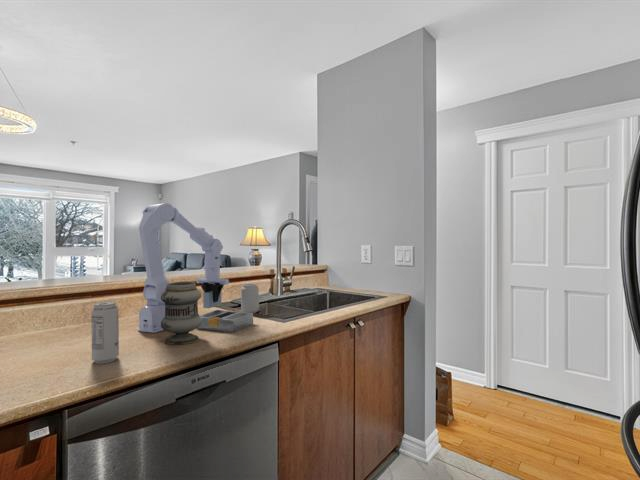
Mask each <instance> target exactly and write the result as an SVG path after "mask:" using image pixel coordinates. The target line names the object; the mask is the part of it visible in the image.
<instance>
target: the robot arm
mask: <svg viewBox="0 0 640 480" xmlns="http://www.w3.org/2000/svg"><path fill="white" fill-rule="evenodd" d="M167 223H173V224H175V226H177V227H179V228H180V229H182V230H183V231H185V232H186V233H188V234H189V238H190V240H192V241H193V242H195V243H196V244H198V245H199V246H200V247H201V249H202V251H203V252H204V277H198V278H196V282H195V283H196V284H201V285H200V288H201V289H202V291H203V293H205V292H210V291H212V292H213V302H218V299H219V295H220V292H221V293H222V290H223V288H224V286H226V285H229V284H230V281H229V280H230V279H226V278H225V279H224V278H221V277H220V275H221V273H220V271H221V270H220V268H221V267H220V265H221V264H220V259H221V252H222V251H223V248H224V246H223V242H221V240H220V239H218V238H214V236H213V235H212V234H210V233H208V232H207V231H206V228H205V227H202V226H197V227H196V226H195V225H194V224H193V223H192V222H190V221H189V220H188V219H187V218H186V217H185V216H184V215H182V213H180V211H179V210H178V209H177V208H176V207H174V206H173V205H172V204H171V203H168V202H164V203H158V204H150V205H147V207H145V209H144V210H143V211H142V217H141V221H140V223H139V226H138V231H139V237H140V242H141V248H142V254H143V261H144V266H145V273H146V279H145V281H144V283H143V284H144V288H143V290H142V291H143V293H142V294H143V297H144V299H145V300H146V305H145V306H143V307H141V308H140V310H139V312H138V329H137V332H142V333H152V334H156V333H159V332H163V331H165V330H164V329H163V328H162V327H161V321H162V319H163V318H164V317H165V302H163V301H162V300H161V295H162V293H163V292H164V291H165V290H166V286H167V284H168V283H170V282H169V280H168V278H167V277H166V276H165V272H164V271H165V270H164V266H163V260H162V255H161V253H162V252H161V248H160V247H161V246H160V241H159V236H158V235H159V234H158V231H159V230H160V229H161V227H163V225H165V224H167Z"/></svg>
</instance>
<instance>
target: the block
mask: <svg viewBox="0 0 640 480" xmlns="http://www.w3.org/2000/svg"><path fill="white" fill-rule="evenodd" d="M202 295H203V301H202V304H203V306H202V307H203V309H210V308H215V307H218V306H222V291H221V292H220V295H219V299H218V302H213V292H212V291H210V292H205V293H204V292H203V293H202Z"/></svg>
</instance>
